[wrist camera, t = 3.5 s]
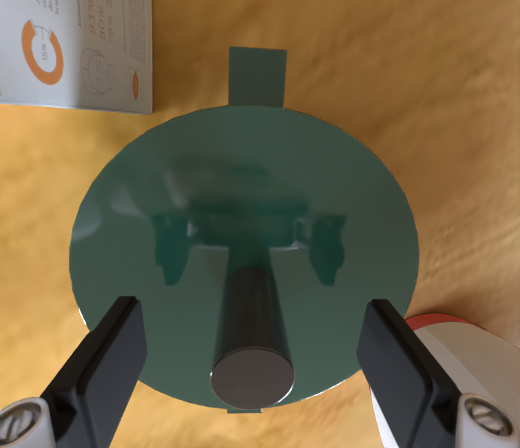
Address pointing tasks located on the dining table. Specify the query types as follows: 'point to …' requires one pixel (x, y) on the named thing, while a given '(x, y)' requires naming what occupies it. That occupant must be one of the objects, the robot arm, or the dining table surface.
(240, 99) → the pot
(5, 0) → the small box
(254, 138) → the lid
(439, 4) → the dining table surface
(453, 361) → the citrus juicer
